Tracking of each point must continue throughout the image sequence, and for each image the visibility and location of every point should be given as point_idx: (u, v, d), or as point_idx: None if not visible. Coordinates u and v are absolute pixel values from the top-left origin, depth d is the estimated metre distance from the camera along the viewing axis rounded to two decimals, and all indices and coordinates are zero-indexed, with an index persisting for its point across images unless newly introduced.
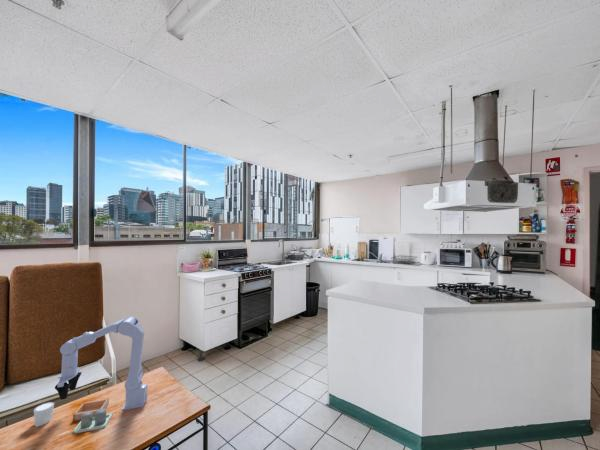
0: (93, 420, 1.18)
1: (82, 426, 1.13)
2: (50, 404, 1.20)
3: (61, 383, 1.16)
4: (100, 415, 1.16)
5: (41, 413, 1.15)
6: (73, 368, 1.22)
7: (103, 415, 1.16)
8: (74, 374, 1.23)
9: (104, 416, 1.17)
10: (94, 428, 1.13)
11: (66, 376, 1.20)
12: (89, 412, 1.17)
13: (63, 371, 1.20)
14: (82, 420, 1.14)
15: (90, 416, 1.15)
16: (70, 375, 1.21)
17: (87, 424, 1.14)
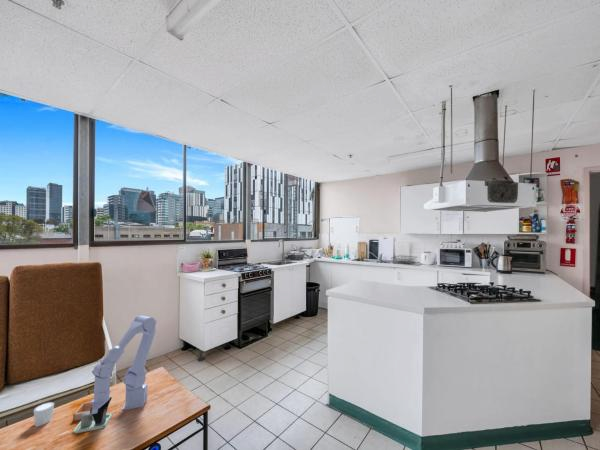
0: (93, 420, 1.18)
1: (82, 426, 1.13)
2: (50, 404, 1.20)
3: (95, 410, 1.11)
4: None
5: (41, 413, 1.15)
6: (106, 392, 1.17)
7: (103, 415, 1.16)
8: (107, 399, 1.17)
9: (104, 416, 1.17)
10: (94, 428, 1.13)
11: (99, 401, 1.15)
12: (89, 412, 1.17)
13: (96, 396, 1.15)
14: (82, 420, 1.14)
15: (90, 416, 1.15)
16: (103, 400, 1.16)
17: (87, 424, 1.14)
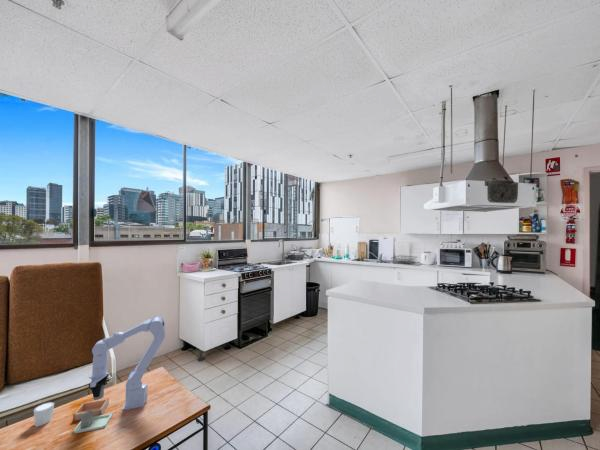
0: (93, 420, 1.18)
1: (82, 426, 1.13)
2: (50, 404, 1.20)
3: (93, 383, 1.18)
4: None
5: (41, 413, 1.15)
6: (103, 368, 1.24)
7: (100, 391, 1.24)
8: (104, 374, 1.25)
9: (102, 391, 1.24)
10: (94, 428, 1.13)
11: (97, 376, 1.22)
12: (89, 412, 1.17)
13: (94, 371, 1.22)
14: (82, 420, 1.14)
15: (90, 416, 1.15)
16: (101, 375, 1.23)
17: (87, 424, 1.14)
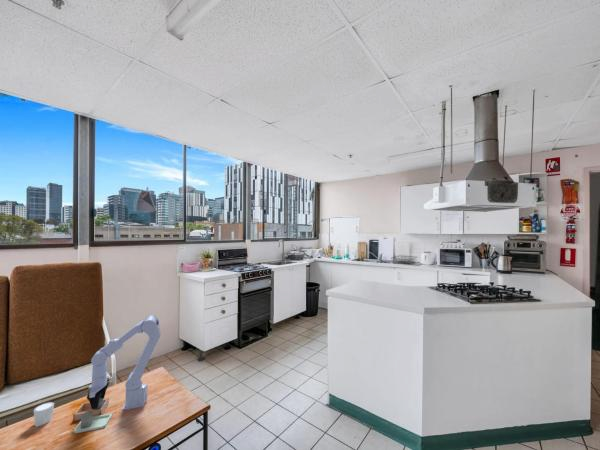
0: (93, 420, 1.18)
1: (82, 426, 1.13)
2: (50, 404, 1.20)
3: (93, 394, 1.19)
4: None
5: (41, 413, 1.15)
6: (103, 378, 1.25)
7: (100, 404, 1.24)
8: (104, 384, 1.25)
9: (101, 405, 1.24)
10: (94, 428, 1.13)
11: (96, 386, 1.23)
12: (89, 412, 1.17)
13: (94, 381, 1.23)
14: (82, 420, 1.14)
15: (90, 416, 1.15)
16: (100, 385, 1.24)
17: (87, 424, 1.14)
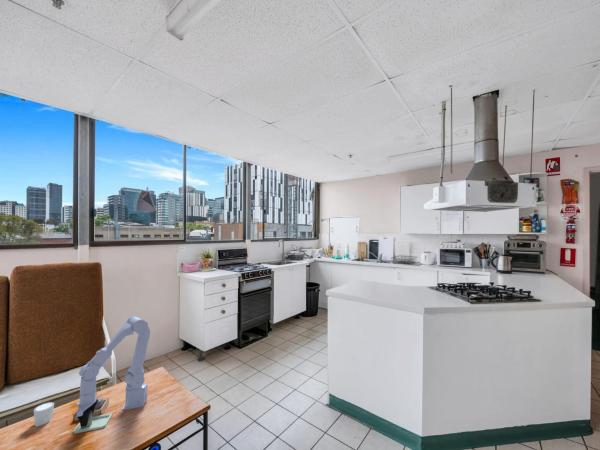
0: (93, 420, 1.18)
1: None
2: (50, 404, 1.20)
3: (80, 412, 1.09)
4: (96, 404, 1.23)
5: (41, 413, 1.15)
6: (92, 395, 1.15)
7: (99, 404, 1.24)
8: (93, 401, 1.16)
9: (101, 405, 1.24)
10: (94, 428, 1.13)
11: (85, 404, 1.13)
12: None
13: (82, 398, 1.13)
14: None
15: (90, 416, 1.15)
16: (89, 402, 1.14)
17: (87, 424, 1.14)
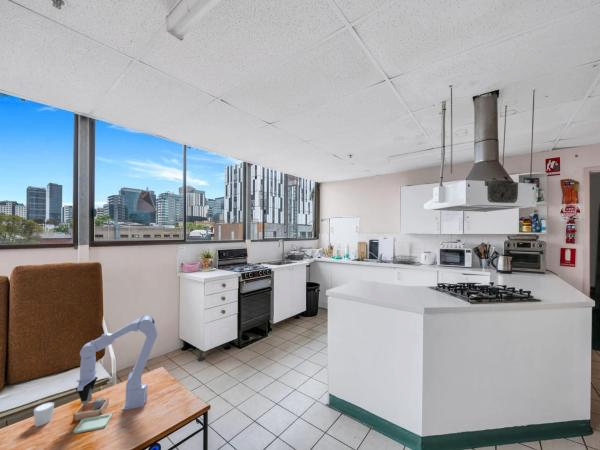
0: (93, 420, 1.18)
1: (82, 401, 1.20)
2: (50, 404, 1.20)
3: (81, 387, 1.15)
4: (97, 404, 1.23)
5: (41, 413, 1.15)
6: (91, 371, 1.22)
7: (100, 404, 1.24)
8: (92, 377, 1.22)
9: (101, 405, 1.24)
10: (94, 428, 1.13)
11: (85, 380, 1.20)
12: None
13: (82, 375, 1.19)
14: None
15: (89, 392, 1.21)
16: (89, 378, 1.21)
17: (87, 400, 1.20)
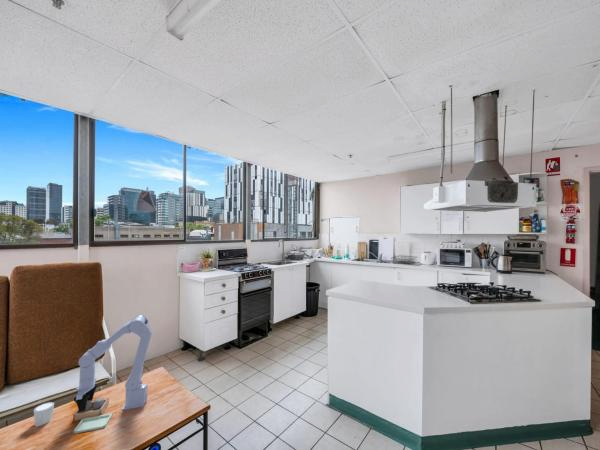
0: (93, 420, 1.18)
1: None
2: (50, 404, 1.20)
3: (80, 396, 1.17)
4: (97, 404, 1.23)
5: (41, 413, 1.15)
6: (91, 380, 1.23)
7: (99, 405, 1.24)
8: (92, 386, 1.23)
9: (101, 405, 1.24)
10: (94, 428, 1.13)
11: (84, 388, 1.21)
12: (88, 401, 1.24)
13: (81, 383, 1.21)
14: None
15: (89, 405, 1.23)
16: (88, 387, 1.22)
17: None
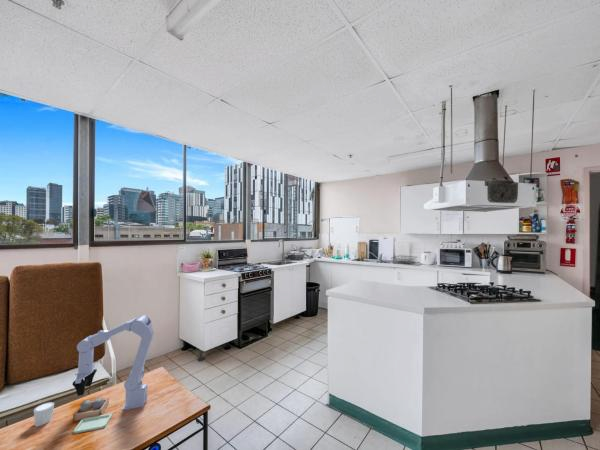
0: (93, 420, 1.18)
1: None
2: (50, 404, 1.20)
3: (78, 380, 1.20)
4: (96, 404, 1.23)
5: (41, 413, 1.15)
6: (89, 365, 1.26)
7: (99, 404, 1.24)
8: (90, 371, 1.26)
9: (100, 405, 1.24)
10: (94, 428, 1.13)
11: (83, 373, 1.24)
12: (88, 401, 1.24)
13: (80, 368, 1.24)
14: (81, 408, 1.21)
15: (88, 405, 1.23)
16: (87, 371, 1.25)
17: None
